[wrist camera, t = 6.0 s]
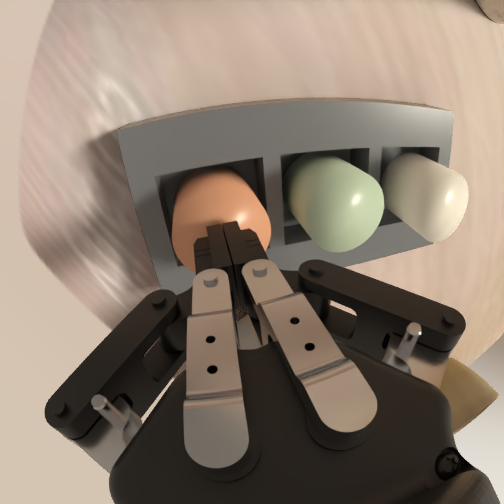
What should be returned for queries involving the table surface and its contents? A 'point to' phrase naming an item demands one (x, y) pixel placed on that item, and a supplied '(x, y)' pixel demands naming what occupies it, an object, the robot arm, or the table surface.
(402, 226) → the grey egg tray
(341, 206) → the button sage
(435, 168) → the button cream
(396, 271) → the table surface
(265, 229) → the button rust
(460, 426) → the plant pot
